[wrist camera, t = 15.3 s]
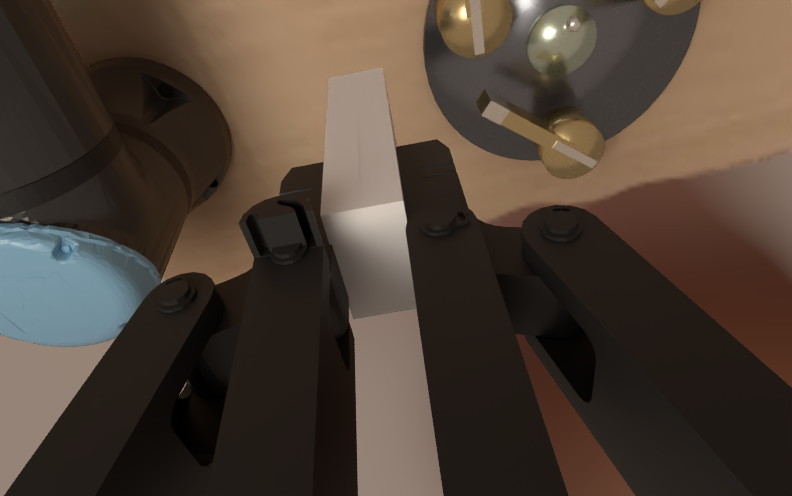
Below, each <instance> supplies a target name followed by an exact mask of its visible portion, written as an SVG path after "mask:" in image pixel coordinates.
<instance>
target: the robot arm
mask: <svg viewBox="0 0 792 496" xmlns="http://www.w3.org/2000/svg"><path fill="white" fill-rule="evenodd" d="M230 156H231V140H230V134H229V130H228V127H227V124H226V122H225V119H224V117H223V115H222V114H221V112H220V110H219V109H218V107H217V105H216V104H215V103H214V101H213V100H212V99H211V98H210V97H209V95H208V94H207V93H206V92H205V91H204V90H203V89H202V88H200V87H199V86H198V85H197V84H196V83H195V82H193V81H192V80H191V79H189V78H188V77H186V76H185V75H183V74H181V73H180V72H178V71H176V70H174V69H172V68H170V67H167V66H165V65H162V64H159V63H156V62H153V61H149V60H144V59H137V58H115V59H109V60H105V61H101V62H99V63H96V64H94V65H92V66H90V67H88V68H87V69H86V67H85V65H84V63H83V61H82V59H81V58H80V56H79V54H78V52H77V50H76V48H75V46H74V45H73V43H72V41H71V39H70V37H69V35H68V33H67V31H66V30H65V28H64V26H63V24H62V22H61V20H60V18H59V17H58V15H57V13H56V11H55V9H54V7H53V5H52V4H51V2H50V0H0V335H4V336H6V337H9V338H12V339H16V340H23V341H27V342H31V343H34V344H40V345H47V346H58V347H76V346H87V345H92V344H98V343H102V342H105V341H109V340H111V339H114V338H116V337H117V338H116V339H115V341H114V342H113V343H112V345H111V346H110V348H109V349H108V350H107V352H106V353H105V355H104V356H103V357H102V359H101V360H100V362H99V363H98V365H97V366H96V367H95V369H94V370H93V372H92V373H91V374H90V376H89V377H88V379H87V380H86V381H85V383H84V384H83V385H82V387H81V388H80V390H79V391H78V392H77V394H76V395H75V397H74V398H73V399H72V401H71V402H70V404H69V405H68V407H67V408H66V409H65V411H64V412H63V414H62V415H61V416H60V418H59V419H58V421H57V422H56V423H55V425H54V426H53V428H52V429H51V430H50V432H49V433H48V435H47V436H46V437H45V439H44V440H43V442H42V443H41V445H40V446H39V447H38V449H37V450H36V452H35V453H34V454H33V456H32V457H31V459H30V460H29V461H28V463H27V464H26V465H25V467H24V468H23V470H22V471H21V473H20V474H19V475H18V477H17V478H16V480H15V481H14V482H13V484H12V485H11V487H10V488H9V489H8V491H7V492H6V494H5V495H4V496H358V485H357V439H356V396H355V395H356V394H355V352H354V351H355V349H354V336H353V333H352V329H351V326H350V323H349V307H350V310H351V313H352V317H353V319H356V318H363V317H368V316H374V315H380V314H385V313H392V312H397V311H403V310H409V309H415V308H417V313H418V321H419V328H420V335H421V342H422V349H423V356H424V363H425V369H426V376H427V383H428V390H429V397H430V404H431V411H432V418H433V425H434V431H435V439H436V446H437V453H438V460H439V467H440V474H441V480H442V487H443V494H444V496H568V493H567V490H566V487H565V484H564V481H563V478H562V475H561V472H560V469H559V466H558V463H557V460H556V457H555V454H554V450H553V448H552V444H551V442H550V438H549V435H548V432H547V429H546V426H545V423H544V420H543V417H542V414H541V411H540V408H539V405H538V403H537V399H536V396H535V393H534V390H533V387H532V384H531V381H530V378H529V375H528V372H527V369H526V366H525V363H524V360H523V356H522V353H521V350H520V347H519V344H518V341H517V338H516V335H515V334H522V335H525V338H526V340H527V342H528V344H529V345H530V346H531V348H532V349H533V351H534V352H535V353H536V355H537V356H538V358H539V359H540V360H541V362H542V363H543V365H544V366H545V368H546V369H547V371H548V372H549V373H550V375H551V376H552V378H553V379H554V380H555V382H556V383H557V385H558V386H559V388H560V389H561V390H562V392H563V393H564V395H565V396H566V397H567V399H568V400H569V402H570V403H571V405H572V406H573V407H574V409H575V410H576V412H577V413H578V414H579V416H580V417H581V419H582V420H583V422H584V423H585V424H586V426H587V427H588V429H589V430H590V431H591V433H592V434H593V436H594V437H595V439H596V440H597V442H598V443H599V444H600V446H601V447H602V449H603V450H604V451H605V453H606V454H607V456H608V457H609V459H610V460H611V461H612V463H613V464H614V466H615V467H616V468H617V470H618V471H619V473H620V474H621V475H622V477H623V478H624V480H625V481H626V483H627V484H628V486H629V487H630V488H631V489H632V491H633V493H634V494H635V495H636V496H792V388H791V387H790V386H789V385H788V384H787V383H786V382H785V381H783V380H782V379H781V378H780V377H779V376H778V375H776V374H775V373H774V372H773V371H772V370H771V369H770V368H769V367H767V366H766V365H765V364H764V363H763V362H762V361H760V360H759V359H758V358H757V357H756V356H755V355H754V354H753V353H751V352H750V351H749V350H748V349H747V348H746V347H744V346H743V345H742V344H741V343H740V342H738V340H737V339H735V338H734V337H733V336H732V335H731V334H730V333H729V332H727V331H726V330H725V329H724V328H723V327H722V326H721V325H719V324H718V323H717V322H716V321H715V320H714V319H713V318H711V317H710V316H709V315H708V314H707V313H706V312H705V311H703V310H702V309H701V308H700V307H699V306H697V304H695V303H694V302H693V301H692V300H691V299H690V298H688V297H687V296H686V295H685V294H684V293H683V292H682V291H680V290H679V289H678V288H677V287H676V286H675V285H674V284H673V283H671V282H670V281H669V280H668V279H667V278H666V277H665V276H663V275H662V274H661V273H660V272H659V271H658V270H656V269H655V268H654V267H653V266H652V265H651V264H650V263H648V262H647V261H646V260H645V259H644V258H643V257H642V256H640V255H639V254H638V253H637V252H636V251H635V250H634V249H633V248H631V247H630V246H629V245H628V244H627V243H626V242H625V241H623V240H622V239H621V238H620V237H619V236H618V235H616V234H615V233H614V232H613V231H612V230H610V228H609V227H607V226H606V225H605V224H604V223H603V222H602V221H600V220H599V219H598V218H597V217H596V216H595V215H593V214H591V213H590V212H588V211H586V210H585V209H581V208H577V207H574V206H565V205H554V206H549V207H544V208H540V209H538V210H536V211H534V212H532V213H531V214H529V215H528V216H527V218H526V219H525V220H524V221H523V224H522V228H519V227H502V226H494V225H491V224H487V223H484V222H482V221H480V220H478V219H477V218H476V216H475V215H474V213H473V212H472V210H470V209H469V208H468V206H467V203H466V199H465V196H464V193H463V190H462V187H461V184H460V181H459V178H458V175H457V173H456V168H455V165H454V163H453V159H452V156H451V153H450V150H449V148H448V147H447V146H445V145H444V144H443V143H441V142H440V141H439V140H437V139H436V140H431V141H425V142H420V143H415V144H409V145H404V146H399V147H397V143H396V138H395V132H394V127H393V121H392V116H391V111H390V105H389V100H388V94H387V89H386V84H385V78H384V73H383V67H381V68H376V69H371V70H365V71H360V72H355V73H350V74H345V75H340V76H334V77H329V85H328V101H327V117H326V133H325V149H324V162H321V163H316V164H311V165H305V166H300V167H295V168H292V169H291V170H290V171H289V172H288V174H287V175H286V176H285V177H284V179H283V180H282V182H281V188H280V193H279V194H280V196H277V197H273V198H270V199H266V200H264V201H262V202H260V203H258V204H256V205H254V206H253V207H251V208H250V209H249V210H248V211H247V212H246V213H245V214H244V215H243V216H242V218H241V220H240V222H239V225H240V227H241V229H242V232H243V234H244V236H245V238H246V241H247V243H248V245H249V247H250V250H251V252H252V254H253V256H254V262H253V267H252V269H250V270H249V271H247V272H246V273H243V274H241V275H239V276H237V277H235V278H232V279H230V280H228V281H225V282H223V283H220V284H218V285H215V284H214V282H213V280H212V279H211V278H210V277H208V276H207V275H206V274H202V273H196V272H192V273H185V274H180V275H177V276H175V277H172V278H170V279H167V280H166V281H164V282H163V283H161V279H162V277H163V274H164V272H165V269H166V267H167V264H168V262H169V259H170V257H171V254H172V252H173V249H174V247H175V244H176V242H177V239H178V237H179V234H180V232H181V229H182V227H183V224H184V221H185V219H186V216H187V215H188V214H189V213H190V212H192V211H193V210H194V209H195V208H197V207H198V206H199V205H201V204H202V203H203V202H205V201H206V200H207V199H208V198H210V197H211V196H212V195H213V194H214V192H215V191H216V190H217V189H218V187H219V186H220V184H221V182H222V180H223V178H224V176H225V173H226V170H227V168H228V165H229V161H230ZM185 383H187V384H186V386H185V388H184V390H183V391H182V392H181V390H182V389H183V387H184V385H185ZM180 392H181V394H180ZM179 394H180V395H179Z"/></svg>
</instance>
